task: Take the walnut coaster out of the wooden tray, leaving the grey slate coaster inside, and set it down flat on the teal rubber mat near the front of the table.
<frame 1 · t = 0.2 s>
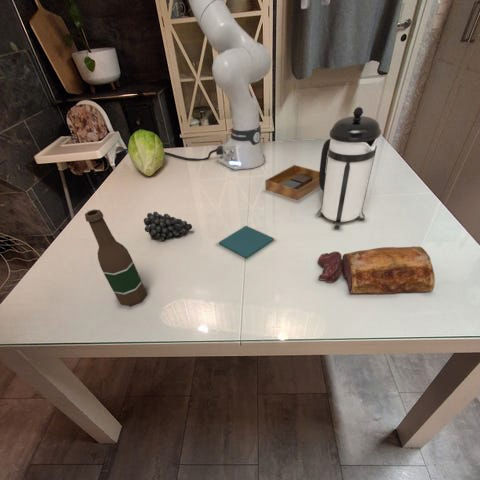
hand: (315, 6, 83), 47 cm above the table, tool pointing down, fingers open, 8 cm apart
fruit: (171, 237, 98), on the table
slate coaster: (289, 189, 112), point 1 cm above the table, touching wooden tray
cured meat: (365, 274, 77), on the table
walnut coaster: (301, 182, 115), point 1 cm above the table, touching wooden tray
wooden tray: (295, 187, 114), on the table
coffee press: (336, 217, 97), on the table
beer bottle: (133, 297, 79), on the table
mat: (246, 242, 92), on the table
lettuce: (150, 169, 140), on the table
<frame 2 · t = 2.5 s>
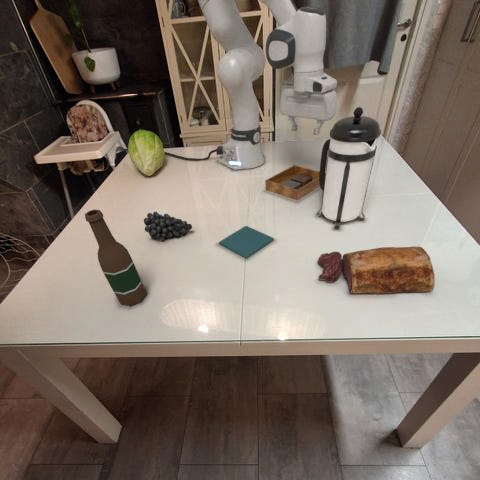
hand: (305, 132, 102), 18 cm above the table, tool pointing down, fingers open, 8 cm apart
nothing on the table moved.
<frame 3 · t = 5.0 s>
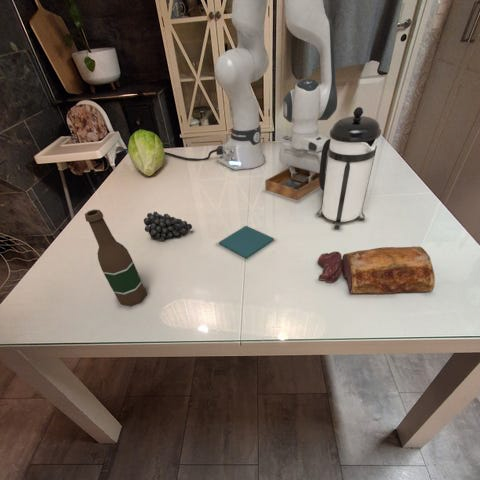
hand: (301, 179, 114), 2 cm above the table, tool pointing down, fingers closed on walnut coaster, 6 cm apart
walnut coaster: (301, 183, 115), point 1 cm above the table, touching wooden tray, gripper
everything else where it was.
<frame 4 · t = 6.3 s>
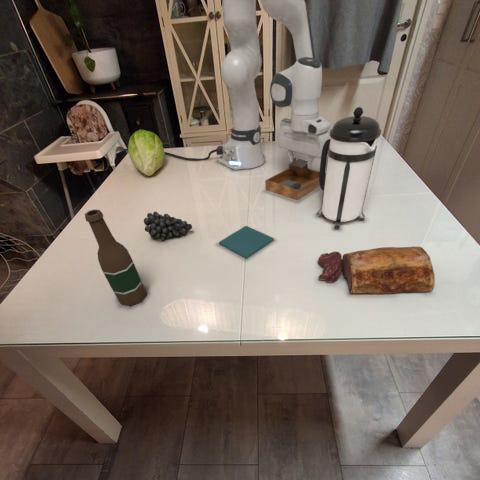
hand: (300, 165, 110), 7 cm above the table, tool pointing down, fingers closed on walnut coaster, 6 cm apart
walnut coaster: (299, 168, 111), point 6 cm above the table, touching gripper
everything else where it was.
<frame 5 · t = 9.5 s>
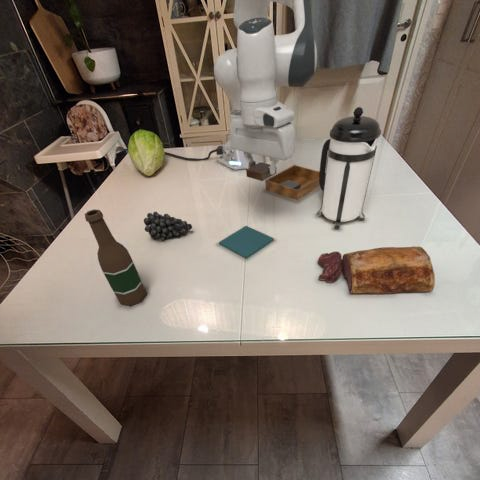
hand: (261, 170, 83), 18 cm above the table, tool pointing down, fingers closed on walnut coaster, 6 cm apart
walnut coaster: (261, 175, 84), point 17 cm above the table, touching gripper
everything else where it was.
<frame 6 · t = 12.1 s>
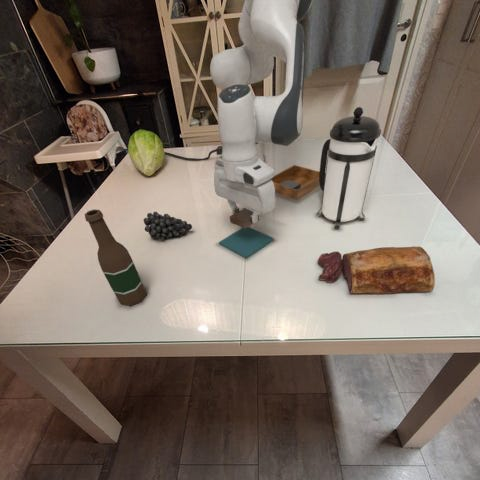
hand: (244, 217, 86), 8 cm above the table, tool pointing down, fingers closed on walnut coaster, 6 cm apart
walnut coaster: (244, 221, 86), point 7 cm above the table, touching gripper
everything else where it was.
when the fingers open (2 cm above the table, at t = 14.2 s): walnut coaster stays where it is, resting on mat.
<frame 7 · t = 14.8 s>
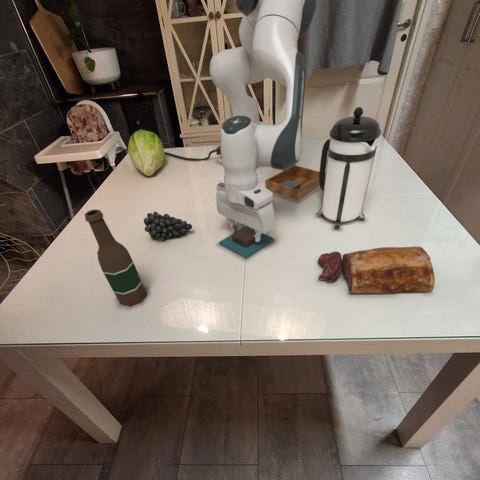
hand: (245, 235, 90), 2 cm above the table, tool pointing down, fingers open, 8 cm apart
walnut coaster: (246, 240, 91), point 1 cm above the table, touching mat
everything else where it was.
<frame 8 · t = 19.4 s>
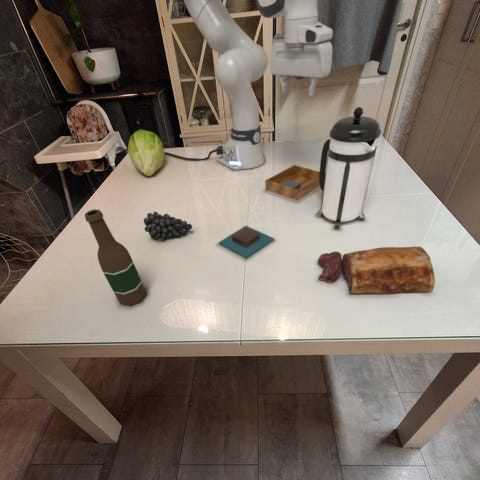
hand: (297, 94, 93), 29 cm above the table, tool pointing down, fingers open, 8 cm apart
nothing on the table moved.
at the end: walnut coaster inside the target area on the mat (0.1 cm from its centre), point 0.8 cm above the mat's base; walnut coaster tilted 0°; slate coaster moved 0.2 cm from its start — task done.
